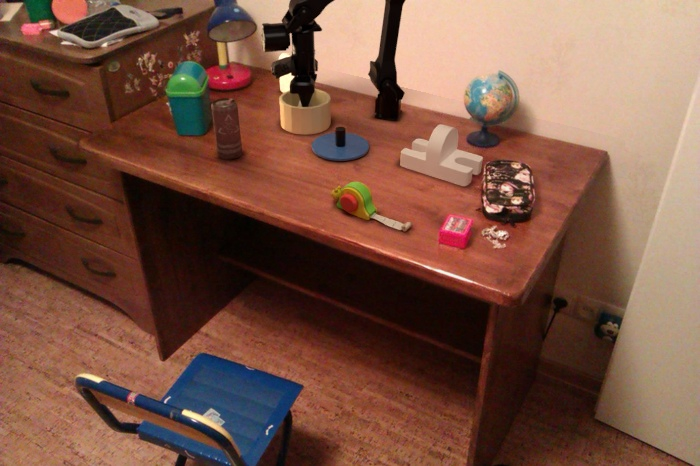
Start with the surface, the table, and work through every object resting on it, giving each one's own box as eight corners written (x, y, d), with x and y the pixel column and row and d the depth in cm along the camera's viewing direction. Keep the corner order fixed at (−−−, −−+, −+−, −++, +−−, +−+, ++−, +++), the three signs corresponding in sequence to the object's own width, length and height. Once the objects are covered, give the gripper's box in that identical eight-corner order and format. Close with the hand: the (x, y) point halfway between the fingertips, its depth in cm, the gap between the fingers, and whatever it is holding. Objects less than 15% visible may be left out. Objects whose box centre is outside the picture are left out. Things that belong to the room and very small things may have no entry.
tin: (328, 112, 172) (328, 87, 168) (332, 133, 161) (332, 107, 157) (280, 114, 171) (278, 88, 167) (281, 135, 160) (279, 109, 156)
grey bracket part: (465, 187, 140) (471, 145, 133) (398, 165, 148) (400, 125, 141) (482, 170, 146) (488, 129, 140) (416, 150, 154) (420, 111, 148)
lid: (364, 135, 161) (365, 115, 158) (372, 161, 149) (373, 140, 146) (310, 137, 160) (309, 117, 156) (313, 164, 148) (313, 143, 144)
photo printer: (308, 99, 180) (306, 58, 173) (295, 102, 178) (293, 61, 171) (290, 88, 187) (288, 48, 179) (278, 91, 185) (275, 51, 177)
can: (247, 151, 153) (242, 99, 145) (233, 162, 148) (227, 109, 140) (227, 146, 155) (221, 94, 147) (212, 157, 150) (205, 104, 142)
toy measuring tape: (341, 195, 136) (341, 169, 132) (416, 224, 127) (418, 197, 123) (324, 208, 132) (323, 182, 128) (400, 238, 123) (402, 211, 119)
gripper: (275, 36, 162) (279, 92, 171) (267, 61, 147) (271, 120, 156) (317, 37, 162) (318, 92, 171) (313, 61, 147) (315, 121, 156)
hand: (305, 105), depth 163 cm, fingers closed on rook chess piece, 4 cm apart
